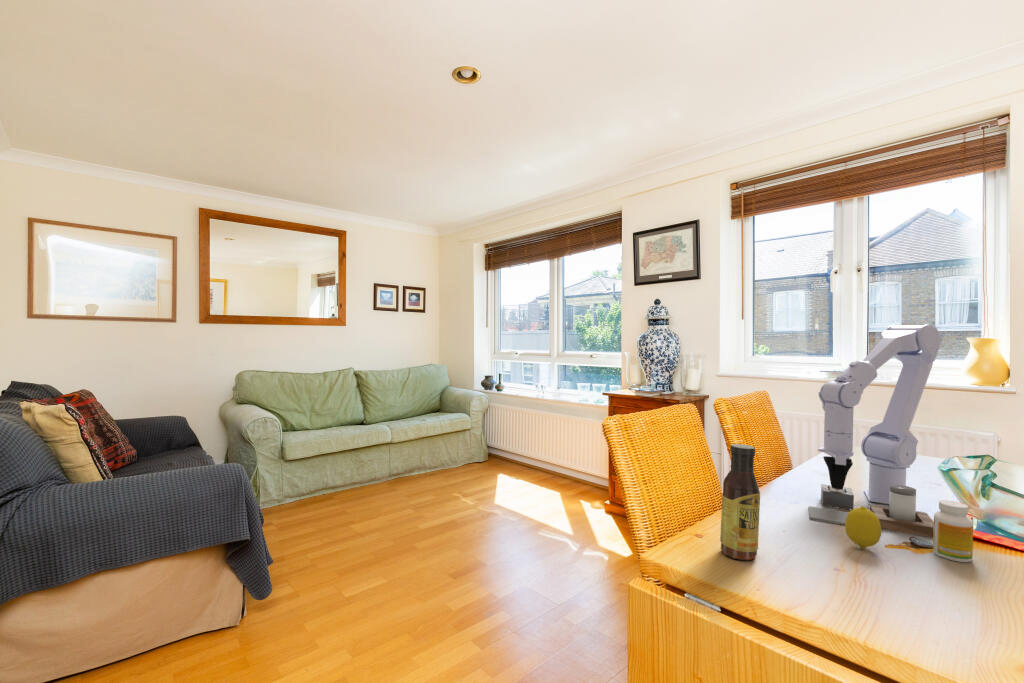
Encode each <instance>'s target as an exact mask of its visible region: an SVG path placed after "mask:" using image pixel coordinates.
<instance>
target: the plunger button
mask: <svg viewBox="0 0 1024 683" xmlns="http://www.w3.org/2000/svg"><path fill="white" fill-rule="evenodd" d="M830 491H837V492H844V493H845V489H844V488H843V489H835V488H832V486H830Z"/></svg>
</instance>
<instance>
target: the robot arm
mask: <svg viewBox="0 0 1024 683" xmlns="http://www.w3.org/2000/svg"><path fill="white" fill-rule="evenodd" d="M942 342H943V339H942V337H941V334H940V333H939V330H938V328H937V327H936V326H935V325H933V324H922V325H919V324H916V325H915V324H914V325H913V324H912V325H910V324H907V325H897V324H891V325H889V326H887V327H886V328H885V329H884V331H883V332H881V333H880V340H879V342H878V343H877V344H876V345H875V346H874V347H873V349H871V351H869V353H868V354H867V355H866V357H865V358H863V360H855V361H851V362H850V363H849V364H848V367H847V368H846V369H844V371H843V372H842V373H841V374H839V375H838V376H836V378H835V379H834V380H833V381H832V380H830V381H827V382H826V383H824V384H823V385H822V386H821V388H820V391H819V392H818V398H819V400H820V402H821V403H822V410H823V411H824V425H823V426H824V427H823V447H817V451H818V452H820V453H824V454H826V455H827V456H826V455H825V456H823V457H822V458H823V461H824V462H825V464H826V466H827V470H828V474H829V481H830V485H831V486H832V488H835V489H843V487H844V486H845V483H846V479H847V475H848V473H849V471H850V469H851V468H852V466H853V464H854V463H853V460H852V458H851V457H853V456H854V451H853V450H854V448H853V446H854V445H853V443H854V442H853V441H854V439H853V438H854V411H855V410H854V407H855V406H857V405H859V404H860V401H861V400H862V399H861V397H862V394H863V393H864V390H866V388H867V387H868V386H869V385H870V384H871V383H872V382H873V381H875V379H876V378H877V377H878V372H877V371H878V369H880V368H881V367H882V366H883V365H884V364H886V363H887V362H889V361H890V360H891V359H892V358H893V357H894V358H895V359H896V360H897V361H900V362H901V364H902V368H901V370H900V373H899V376H898V378H897V381H896V384H895V386H894V388H893V389H894V390H893V392H892V395H891V397H890V399H889V403H888V406H887V409H886V411H885V413H884V416H883V419H882V421H881V422H880V423H878V424H875V425H873V426H871V427H869V430H868V432H867V434H866V435H865V436H864V437H863V438H862V441H861V443H860V445H861V446H860V448H861V452H862V454H863V455H864V456H865V457H866V462H869V463H868V466H869V467H868V489H865V488H864V489H863V492H864V494H865V496H866V498H867V500H868V501H869V502H871V503H872V502H873V503H877V504H878V503H879V504H885V505H889V494H890V485H903V486H907V468H911V465H913V464H914V462H915V461H916V459H917V446H918V443H919V440H918V439H917V437H916V436H915V435H914V434H913V433H912V432H911V431H910V428H911V426H912V423H913V420H914V419H915V418H914V417H915V415H916V412H917V409H918V407H919V404H920V401H921V398H922V396H923V393H924V390H925V387H926V385H927V381H928V379H929V376H930V373H931V371H932V368H933V364H934V362H935V360H936V358H937V356H938V353H939V350H940V348H941V345H942Z"/></svg>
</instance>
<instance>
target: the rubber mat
mask: <svg viewBox="0 0 1024 683" xmlns="http://www.w3.org/2000/svg"><path fill="white" fill-rule="evenodd" d="M808 513H809V520H812V521H816V520H817V522H822V521H823V522H824V523H828V522H830V523H829V524H834V523H837V524H836V525H840V524H842V525H841V526H845V521H846V517H847V515H848V513H849V511H848V512H847V511H841V510H836V509H829V508H822V507H818V506H817V507H816V506H811V505H809V506H808Z"/></svg>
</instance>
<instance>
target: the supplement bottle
mask: <svg viewBox="0 0 1024 683" xmlns="http://www.w3.org/2000/svg"><path fill="white" fill-rule="evenodd" d="M938 509H939V511H936V512H934V514H933V522H934V525H933V537H932V551H933V553H934V554H935V555H937V556H939V557H940V558H944V559H947V560H949V561H952V562H953V561H954V562H958V563H970V562H972V561H973V557H974V556H973V552H974V551H973V549H974V546H973V545H974V521H973V520H972V519H971V518H970V517H969V516H968V515H969V506H968V505H966V503H961V502H958V501H954V500H939V501H938Z"/></svg>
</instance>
